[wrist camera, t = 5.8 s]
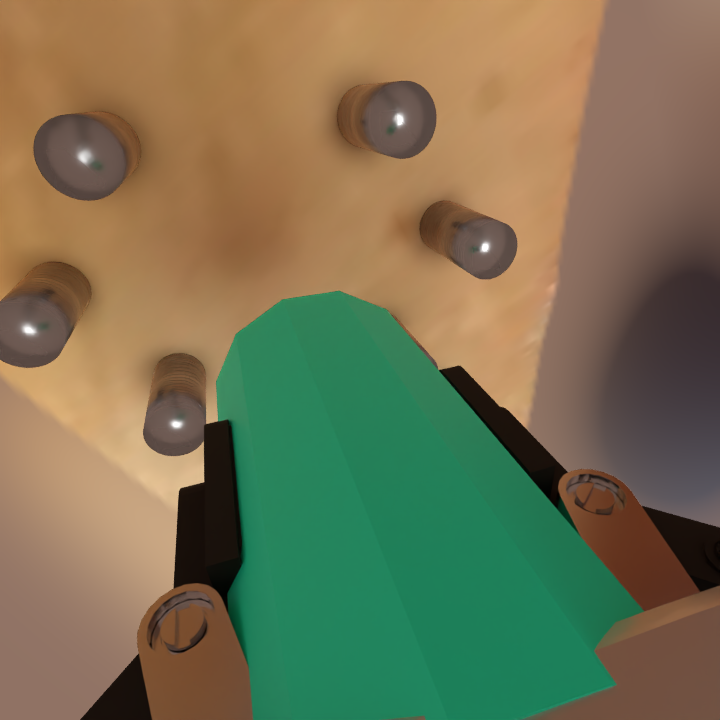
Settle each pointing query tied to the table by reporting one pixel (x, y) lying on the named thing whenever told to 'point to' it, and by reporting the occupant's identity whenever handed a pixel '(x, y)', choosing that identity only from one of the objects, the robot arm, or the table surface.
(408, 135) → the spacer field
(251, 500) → the candle
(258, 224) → the table surface
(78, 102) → the table surface
